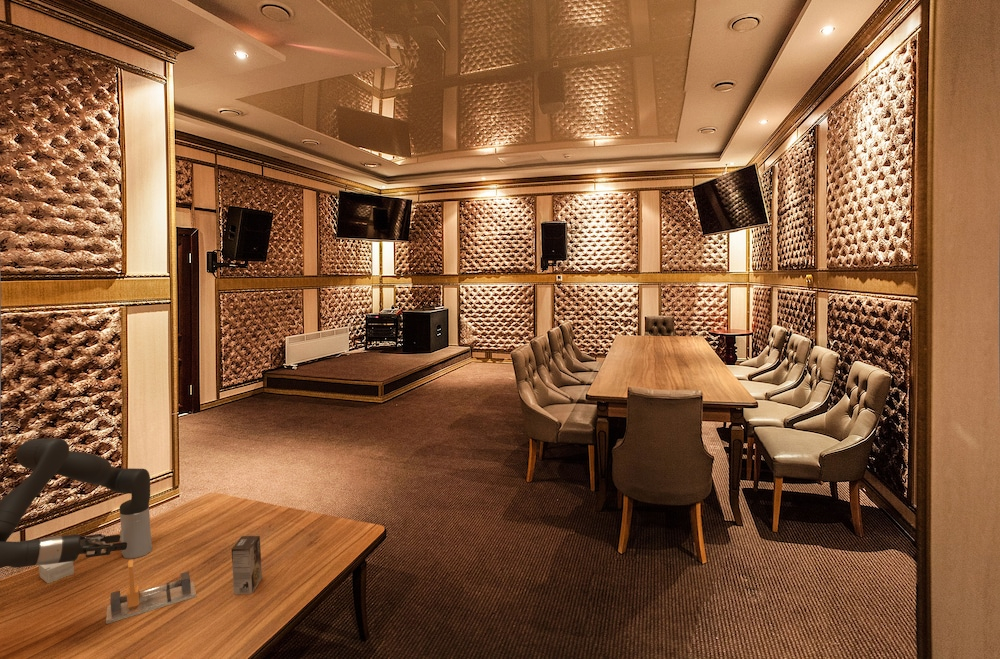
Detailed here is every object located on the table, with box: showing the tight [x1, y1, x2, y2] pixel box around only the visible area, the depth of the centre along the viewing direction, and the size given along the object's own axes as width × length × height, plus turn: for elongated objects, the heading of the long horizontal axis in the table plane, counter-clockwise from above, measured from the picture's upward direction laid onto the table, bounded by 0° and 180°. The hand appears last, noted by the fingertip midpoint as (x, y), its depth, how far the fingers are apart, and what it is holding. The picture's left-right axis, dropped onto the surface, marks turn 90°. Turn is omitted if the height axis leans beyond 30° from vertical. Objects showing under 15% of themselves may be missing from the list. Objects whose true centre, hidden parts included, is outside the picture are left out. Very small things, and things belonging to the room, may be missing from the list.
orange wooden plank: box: [126, 559, 139, 608], centre depth 168 cm, size 3×5×13 cm, turn 35°
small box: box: [38, 561, 75, 584], centre depth 187 cm, size 8×8×5 cm
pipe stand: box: [105, 570, 197, 625], centre depth 171 cm, size 24×9×6 cm, turn 125°
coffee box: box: [231, 535, 263, 595], centre depth 180 cm, size 9×6×16 cm
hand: (123, 541), depth 166 cm, fingers open, 8 cm apart
